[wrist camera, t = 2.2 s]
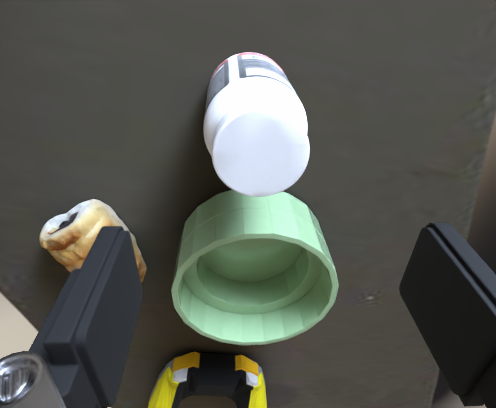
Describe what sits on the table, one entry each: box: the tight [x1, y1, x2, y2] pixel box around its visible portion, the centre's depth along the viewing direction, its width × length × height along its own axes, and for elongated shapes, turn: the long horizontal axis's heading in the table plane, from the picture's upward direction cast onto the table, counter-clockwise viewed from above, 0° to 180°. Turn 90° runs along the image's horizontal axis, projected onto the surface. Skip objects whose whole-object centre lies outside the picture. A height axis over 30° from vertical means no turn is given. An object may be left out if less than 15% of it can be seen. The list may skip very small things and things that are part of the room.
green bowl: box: [171, 190, 339, 345], centre depth 30 cm, size 13×13×6 cm
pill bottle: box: [203, 52, 309, 197], centre depth 20 cm, size 6×6×10 cm
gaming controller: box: [148, 352, 267, 408], centre depth 42 cm, size 15×6×10 cm
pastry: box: [39, 199, 147, 283], centre depth 30 cm, size 9×7×4 cm
